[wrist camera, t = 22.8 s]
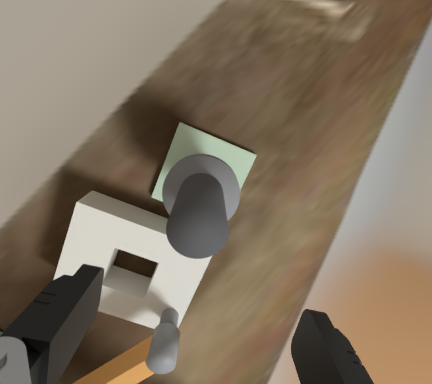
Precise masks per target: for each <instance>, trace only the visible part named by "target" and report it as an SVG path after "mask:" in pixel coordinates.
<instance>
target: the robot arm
mask: <svg viewBox="0 0 432 384" xmlns="http://www.w3.org/2000/svg"><path fill="white" fill-rule="evenodd" d="M103 277H104V268H102V267H97V266H92V265H87V264H83V265H82V266H81V267H80V268H79V269H78V270H77V271H76V273H75V274H74V275H73V276H70V275H62V276H60V277H59V278H57V279H55V280H53V281H51V282H50V283H49V284H48V285H47V286H46V287H45V288H44V289H43V290H42V292H41V294H39V295H38V296H37V297H36V298H35V299H34V300H33V302H31V303H30V304H29V305H28V307H27V308H26V309H25V310H24V311H23V312H22V313H21V314H20V315H19V316H18V317H17V318H16V319H15V320H14V322H13V323H12V324H11V325H10V326H9V327H8V328H7V329H6V330H5V331H4V332H3V333H2V334H1V335H0V384H58V382H59V380H60V378H61V377H62V375H63V373H64V371H65V369H66V368H67V366H68V364H69V362H70V361H71V359H72V357H73V355H74V353H75V352H76V350H77V348H78V346H79V345H80V343H81V341H82V339H83V337H84V336H85V334H86V332H87V330H88V329H89V327H90V325H91V323H92V321H93V320H94V318H95V316H96V313H97V310H98V307H99V303H100V297H101V291H102V284H103ZM291 354H292V358H293V361H294V364H295V367H296V371H297V374H298V377H299V380H300V383H301V384H374V383H373V381H372V380H371V378H370V376H369V374H368V373H367V371H366V369H365V367H364V366H363V365H362V362H361V361H360V359H359V357H358V356H357V355H356V352H355V351H354V349H353V347H352V345H351V344H350V342H349V340H348V339H347V338H346V337H345V336H344V335H343V334H342V333H341V332H340V331H339V330H338V329H336V328H334V326H333V325H332V323H331V321H330V319H329V317H328V316H327V314H326V313H324V312H318V311H314V310H309V309H305V310H304V311H303V313H302V316H301V318H300V321H299V323H298V326H297V328H296V331H295V334H294V336H293V339H292V343H291Z"/></svg>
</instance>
